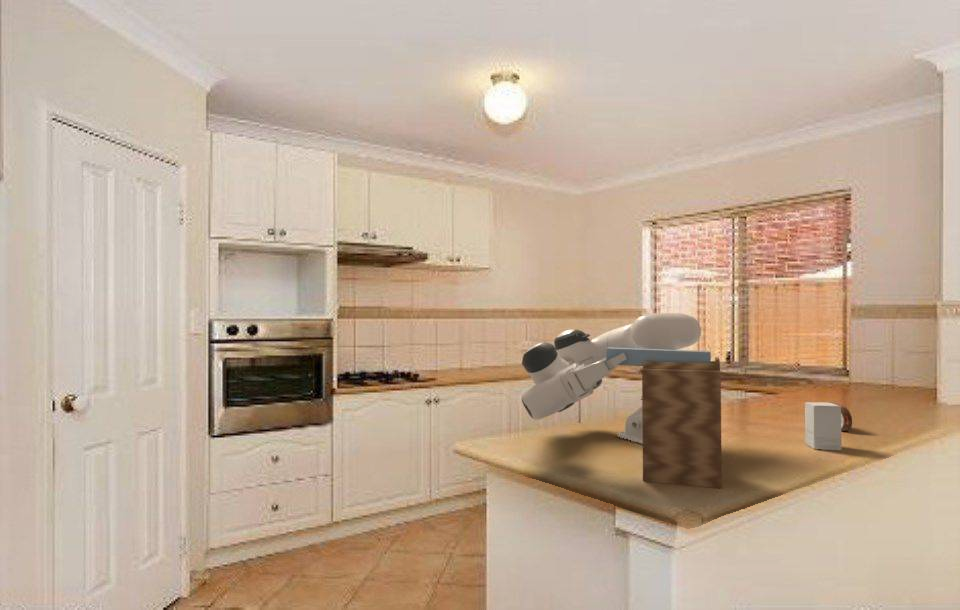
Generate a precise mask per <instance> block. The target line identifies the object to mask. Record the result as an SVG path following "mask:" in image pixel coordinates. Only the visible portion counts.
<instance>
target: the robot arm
mask: <svg viewBox="0 0 960 610" xmlns="http://www.w3.org/2000/svg"><path fill="white" fill-rule="evenodd" d="M701 334H702V328H701V325H700V322H699V321H698V319H696V318H695V317H693V316H692V315H689V314H685V313H680V312H679V313H677V312H675V313H674V312H672V313H671V312H670V313H669V312H663V313H660V312H659V313H658V312H653V313H647V314H645V315H642V316H639V317H637V318H636V319H634V321H633V323H630V324H627V325H622V326H620V327H616V328H614V329H611V330H608V331H606V332H603V333H602V334H600V335H598V336H596V337H594V338H592V339H590V338H589V337H590V336H591V335H590V334H589V333H585V332H584V331H583V330H580V329H566V330H564V331H562V332H560V333H559V334H558V335H557V336H556V337H555V338H554V341H553V343H554V344H552V343H549V342H540V343H539V342H538V343H536V344H534V345H533V346H530V347H529V348H528V349H527V350H526V351H525V352H524V354H523V356H522V361H521V364H522V366H523V368H524V369H525V371H526V372H527V373H528V374H529V376H530V378H531V380H532V381H533V383H534V384H535V385H534V386H533V387H531V388H529V389H528V390H527V391H525V392H524V393H523V394H522V395H521V402H522V404H523V407H524V409H525V410H526V412H527V414H528V415H529V416H530V417H531V419H533V420H535V421H536V420H541V419H545V418H547V417H549V416H552V415H554V414H556V413H562V412H563V411H565V410H567V409H569V408H571V407H572V406H573V405H575V403H577V402H580V401H581V400H584V399H585V398H586V397H588V396H590V395H592V394H594V392H595V390H597V389H598V388H600V387H601V385H602V383H603V379H604V378H605V377H606V376H607V375H609V374H610V373H611V372H613V371H614V370H617V368H618V367H619V365H618V364H619V363H621V362H623V361H625V360H626V359H627V356H626V355H625V353H622V354H620V355H618V356H616V357H614V358H611V359H609V360H607V359H606V348H608V347H612V348H639V349H666V350H683V349H685V348H688V347H691V346H693V345H695V344H696V343H698V342H699V340H700V337H701V336H702V335H701ZM640 401H642V398H641V399H640ZM617 436H618V437H617V438H619V437H620V439H623V438H624V439H623V440H626V439H628V440H627V441H630V440H631V442H634V443H637V442H638V444H641V445H643V427H642V406H641V407H639V408H638V409H637V410H636V411H634V412H633V413H631V414H630V415H628V416H627V417H626V421H625V425H624V430H622V431H619V432H618V433H617Z"/></svg>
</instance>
